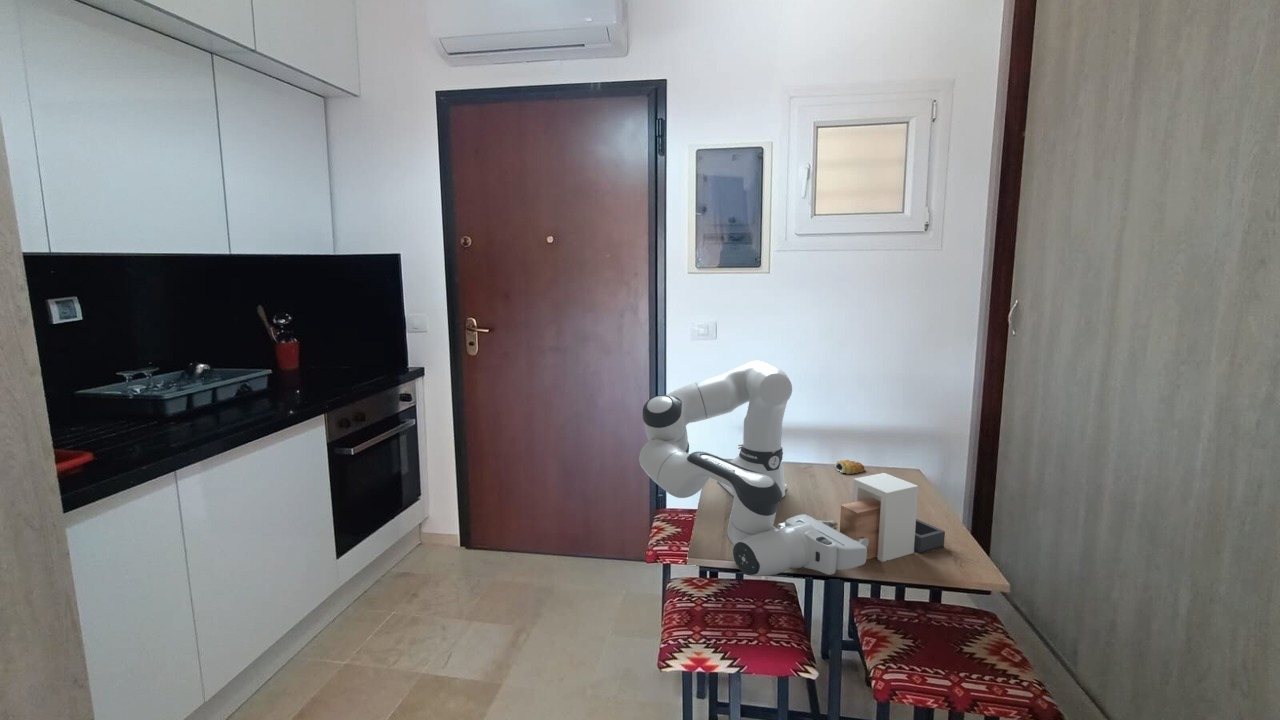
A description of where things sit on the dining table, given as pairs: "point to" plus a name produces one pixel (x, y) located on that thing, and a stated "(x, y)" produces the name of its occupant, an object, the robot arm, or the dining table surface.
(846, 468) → the pastry
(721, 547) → the dining table surface
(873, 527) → the block
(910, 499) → the white arch frame
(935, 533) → the bin
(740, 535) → the robot arm
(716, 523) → the dining table surface
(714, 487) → the dining table surface
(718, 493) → the dining table surface
